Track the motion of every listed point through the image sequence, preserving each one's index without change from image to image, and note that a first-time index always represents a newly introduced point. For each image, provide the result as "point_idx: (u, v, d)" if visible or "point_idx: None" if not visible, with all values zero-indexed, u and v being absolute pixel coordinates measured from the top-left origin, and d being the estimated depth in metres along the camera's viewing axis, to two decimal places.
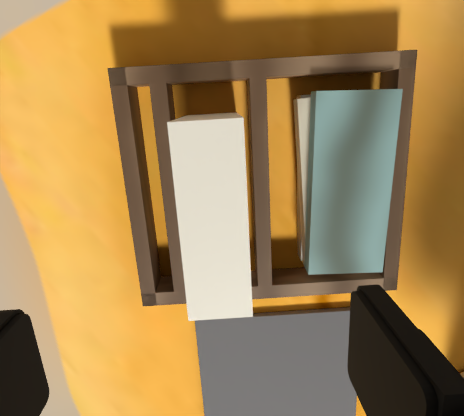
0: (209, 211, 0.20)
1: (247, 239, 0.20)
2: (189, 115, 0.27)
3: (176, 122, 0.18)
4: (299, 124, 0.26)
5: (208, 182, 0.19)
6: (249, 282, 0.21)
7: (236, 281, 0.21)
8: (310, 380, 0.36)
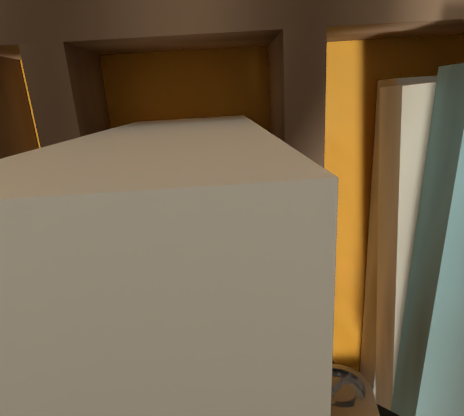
0: None
1: None
2: (135, 123, 0.12)
3: None
4: (401, 148, 0.11)
5: None
6: None
7: None
8: None
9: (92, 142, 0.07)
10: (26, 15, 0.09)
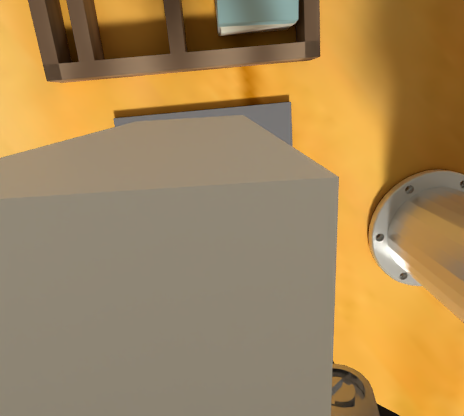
0: None
1: None
2: (135, 123, 0.12)
3: None
4: None
5: None
6: None
7: None
8: None
9: (91, 142, 0.06)
10: None
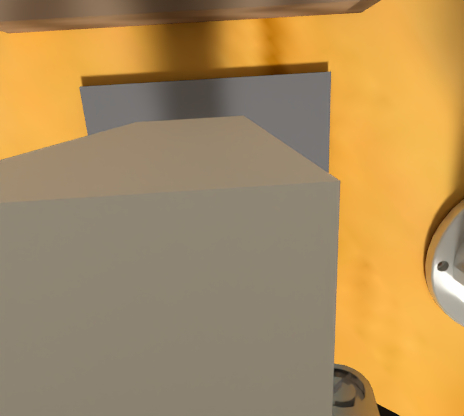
0: None
1: None
2: (135, 124, 0.12)
3: None
4: None
5: None
6: None
7: None
8: None
9: (91, 143, 0.06)
10: None
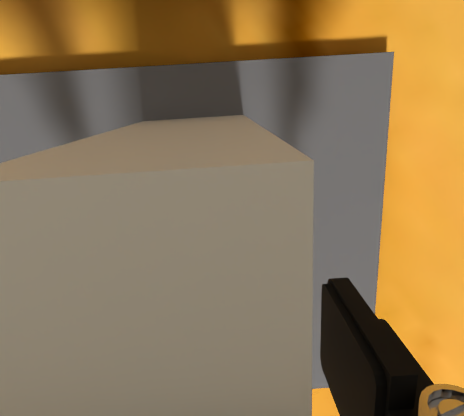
0: None
1: None
2: (143, 123, 0.13)
3: None
4: None
5: None
6: None
7: None
8: None
9: (110, 138, 0.07)
10: None
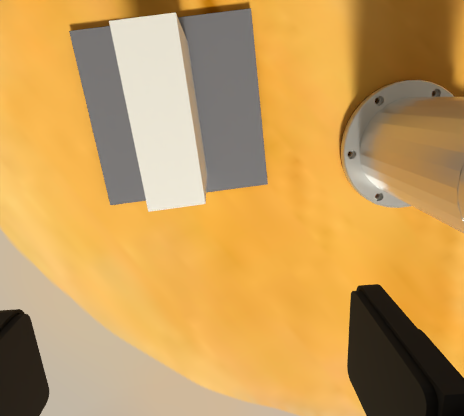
0: (155, 103, 0.22)
1: (192, 129, 0.23)
2: None
3: (117, 21, 0.21)
4: None
5: (151, 76, 0.22)
6: (198, 170, 0.24)
7: (187, 170, 0.24)
8: (208, 108, 0.33)
9: None
10: None
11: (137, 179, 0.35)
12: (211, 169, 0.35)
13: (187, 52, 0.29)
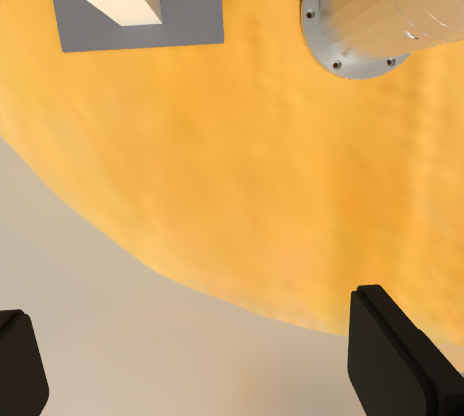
0: None
1: None
2: None
3: None
4: None
5: None
6: None
7: None
8: None
9: None
10: None
11: (91, 24, 0.34)
12: (167, 20, 0.34)
13: None
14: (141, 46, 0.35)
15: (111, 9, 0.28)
